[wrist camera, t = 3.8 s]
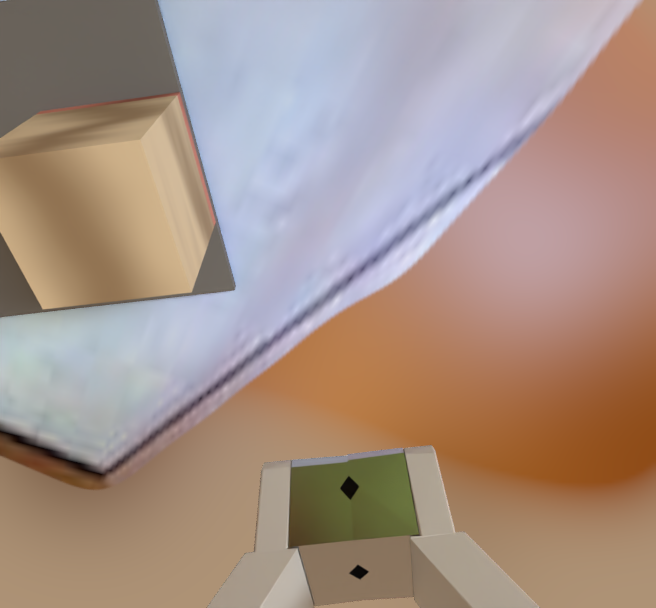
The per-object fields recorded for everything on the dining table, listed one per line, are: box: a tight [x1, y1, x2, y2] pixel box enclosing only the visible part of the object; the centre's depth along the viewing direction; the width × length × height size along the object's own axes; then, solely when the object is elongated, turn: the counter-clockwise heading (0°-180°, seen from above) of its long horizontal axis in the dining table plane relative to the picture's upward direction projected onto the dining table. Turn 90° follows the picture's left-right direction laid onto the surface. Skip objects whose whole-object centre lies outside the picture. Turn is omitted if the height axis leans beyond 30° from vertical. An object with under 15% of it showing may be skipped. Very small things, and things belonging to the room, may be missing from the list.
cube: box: [0, 92, 216, 309], centre depth 21 cm, size 6×6×6 cm
